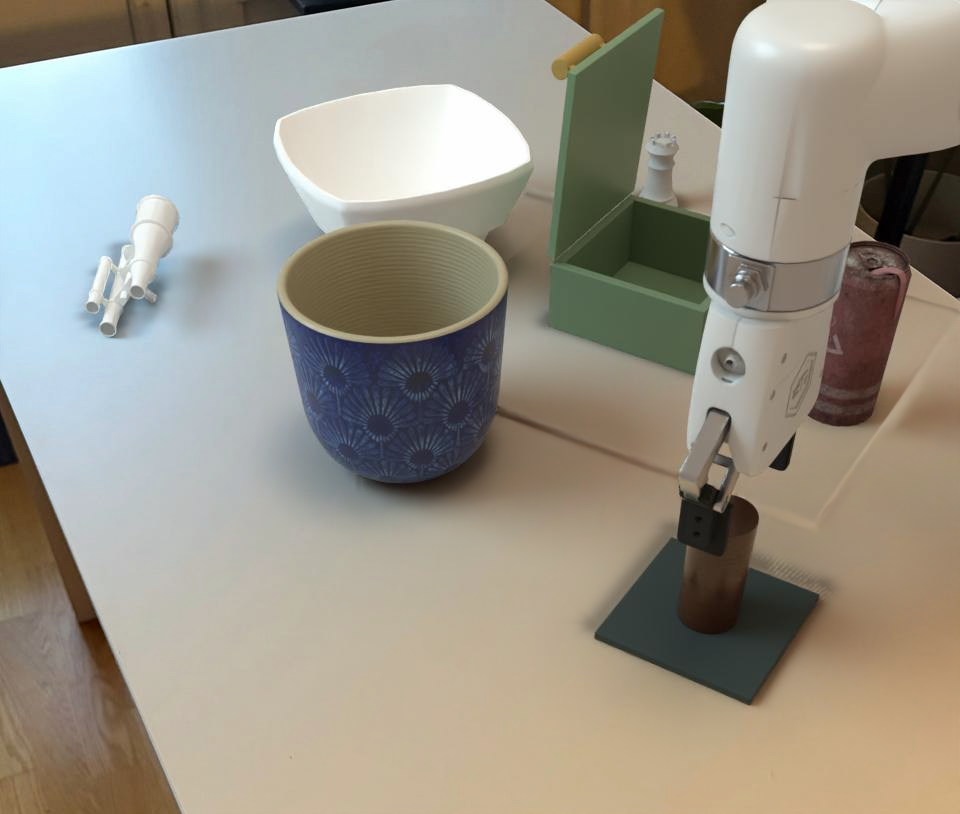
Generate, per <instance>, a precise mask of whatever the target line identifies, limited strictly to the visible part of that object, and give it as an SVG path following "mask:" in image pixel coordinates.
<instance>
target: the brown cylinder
mask: <svg viewBox="0 0 960 814" xmlns="http://www.w3.org/2000/svg"><path fill="white" fill-rule="evenodd" d="M729 502H730V503H731V504H734V508H733V514H732V519H731V525H730V531H729V537H728V543H727V549H726V551H725V552H724V554H723V555H722V556H721V557H717V556H714V555H711V554H709V553H706V552H704V551H701V550H698V549H696V548H693V547H690V546H688V545H687V547H686V554H685V560H684V567H683V573H682V580H681V586H680V592H679V599H678V605H677V614H678V617H679V619H680V620H681V622H682V623H683V624H684V625H685V626H686V627H688V628H689V629H691V630H693V631H696V632H699V633H703V634H719V633H723V632H726V631H728V630H730V629H731V628H732V627H733V626H734V625H735V624H736V623H737V621H738V619H739V614H740V609H741V604H742V600H743V595H744V590H745V585H746V581H747V576H748V571H749V567H750V566H751V561H752V557H753V552H754V547H755V543H756V537H757V534H758V533H757V532H758V529H759V523H760V513H759V511H758V509H757V508H756V506H755V505H754V504H752V502H750V501H749V500H748V499H746V498H744V497H741V496H738V495H735V494H731V497H730V500H729Z"/></svg>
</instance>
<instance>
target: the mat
mask: <svg viewBox="0 0 960 814" xmlns="http://www.w3.org/2000/svg"><path fill="white" fill-rule="evenodd" d="M686 547H687V545H685V544H683V543H681V542H679V541H678V539H677V537H676V538H675V537H673V536H672V537H670V539H668V541H667V542H666V543H665V545H664V546H663V547H662V548H661V549H660V551H659V552H658V553H657V555H656V556H655V557H654V558H653V560H652V561H651V562H650V563H649V565H648V566H647V567H646V568H645V570H644V571H642V573H641V574H640V575H639V577H638V578H637V580H636V581H635V582H634V583H633V584H632V586H631V587H630V588H629V589H628V590H627V592H626V593H625V594H624V596H623V597H622V598H621V599H620V600H619V601H618V603H617V604H616V605H615V607H614V608H613V609H612V610H611V612H610V613H609V614H608V615H607V617H606V618H605V619H604V620H603V622H602V623H601V624H600V625H599V626H598V628H597V629H596V631H594V639H595V640H598V641H600V642H603V643H605V644H606V645H609V646H612V647H614V648H615V649H616V648H617V649H619V650H621V651H624V652H625V653H628V654H630V655H633V656H635V657H638V658H639V659H642V660H644V661H646V662H649V663H651V664H654V665H656V666H658V667H660V668H663V669H665V670H667V671H670V672H672V673H674V674H676V675H679V676H681V677H684V678H686V679H688V680H690V681H693V682H695V683H698V684H700V685H702V686H704V687H707V688H709V689H712V690H714V691H716V692H718V693H721V694H723V695H725V696H728V697H730V698H732V699H735V700H737V701H739V702H742V703H744V704H746V705H748V706H749V705H751V704H752V702H754V699H755V698H756V696H757V694H758V693H759V691H760V690H761V688H762V687H763V685H764V684H765V682H767V680H768V678H769V676H770V675H771V674H772V672H773V670H774V669H775V668H776V666H777V664H778V663H779V661H780V660H781V658H782V657H783V655H784V654H785V652H786V650H787V649H788V647H789V646H790V644H791V643H792V641H793V640H794V638H795V637H796V635H797V633H798V632H799V631H800V629H801V628H802V626H803V624H804V623H805V621H807V618H808V617H809V615H810V614H811V612H812V611H813V609H814V608H815V607H816V605H817V603H818V602H819V601H820V597H821V594H820V593H817V592H815V591H812V590H809V589H808V588H804V587H801V586H799V585H796V584H795V583H791V582H789V581H787V580H783V579H781V578H779V577H776V576H773V575H771V574H769V573H766V572H764V571H761V570H758V569H755V568H753V567H750V566H749V571H748V576H747V581H746V585H745V590H744V595H743V600H742V604H741V609H740V614H739V619H738V621H737V623H736V624H735V625H734V626H733V627H732V628H731V629H730V630H728V631H726V632H723V633H719V634H703V633H699V632H696V631H693V630H691V629H689V628H688V627H686V626H685V625H684V624H683V623H682V622H681V620H680V619H679V617H678V614H677V605H678V599H679V592H680V586H681V580H682V573H683V567H684V560H685V554H686Z"/></svg>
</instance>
